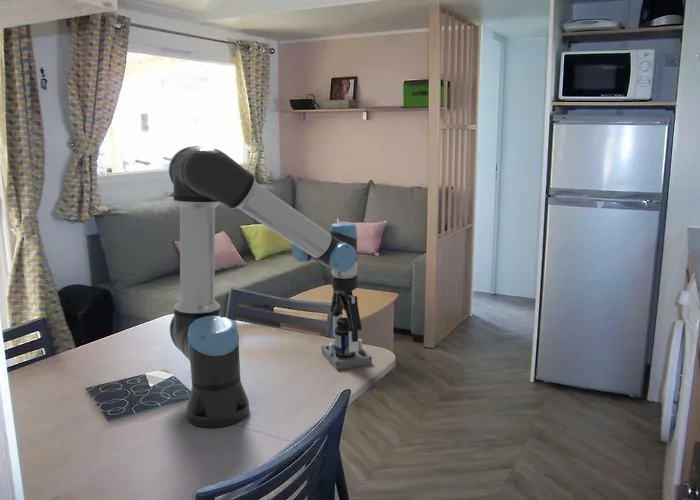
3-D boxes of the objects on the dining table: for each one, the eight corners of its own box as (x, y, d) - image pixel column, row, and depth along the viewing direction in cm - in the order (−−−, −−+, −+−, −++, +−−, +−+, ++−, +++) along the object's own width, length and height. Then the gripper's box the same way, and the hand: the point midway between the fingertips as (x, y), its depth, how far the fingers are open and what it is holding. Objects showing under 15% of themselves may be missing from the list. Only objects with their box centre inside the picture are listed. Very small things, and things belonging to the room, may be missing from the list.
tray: (371, 363, 177) (371, 347, 176) (336, 369, 173) (336, 352, 172) (354, 347, 190) (354, 332, 189) (321, 352, 186) (321, 337, 185)
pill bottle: (356, 351, 184) (355, 316, 181) (354, 358, 178) (354, 323, 175) (336, 350, 184) (335, 316, 182) (333, 358, 178) (333, 322, 176)
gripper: (372, 284, 166) (373, 356, 170) (342, 265, 189) (343, 328, 193) (347, 287, 163) (348, 360, 168) (319, 267, 186) (321, 332, 190)
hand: (345, 343), depth 180 cm, fingers open, 13 cm apart
